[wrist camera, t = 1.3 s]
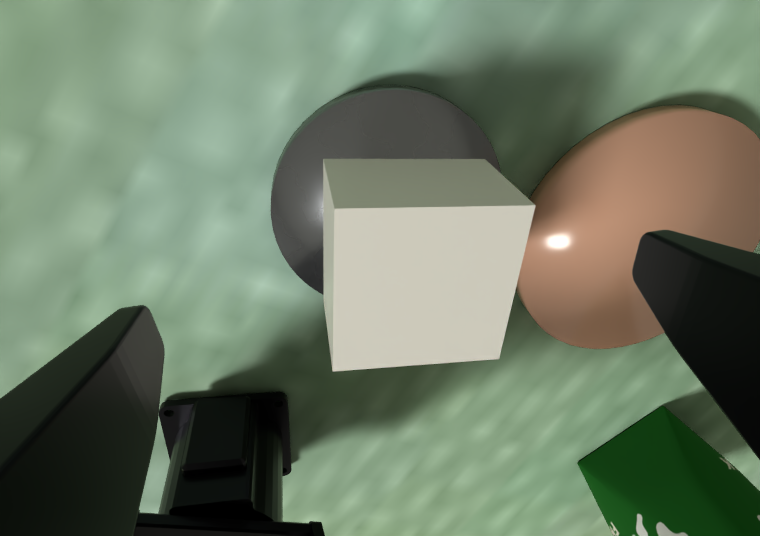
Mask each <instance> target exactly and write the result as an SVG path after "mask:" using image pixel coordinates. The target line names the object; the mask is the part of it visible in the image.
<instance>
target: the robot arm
mask: <svg viewBox="0 0 760 536" xmlns="http://www.w3.org/2000/svg"><path fill="white" fill-rule="evenodd" d="M632 276H633V280H634V282H635V284H636V286H637V287H638V289H639V291H640V292H641V294H642V296H643V297H644V299H645V301H646V302H647V304H648V306H649V307H650V309H651V310H652V312H653V314H654V315H655V317H656V319H657V320H658V322H659V324H660V325H661V327H662V329H663V330H664V332H665V334H666V335H667V337H668V338H669V340H670V341H671V343H672V344H673V346H674V347H675V349H676V350H677V352H678V353H679V354H680V356H681V357H682V358H683V360H684V361H685V362H686V364H687V365H688V366H689V368H690V369H691V370H692V371H693V373H694V374H695V375H696V377H697V378H698V379H699V381H700V382H701V383H702V385H703V386H704V387H705V389H706V390H707V391H708V393H709V394H710V395H711V397H712V398H713V399H714V400H715V402H716V403H717V404H718V406H719V407H720V408H721V410H722V411H723V412H724V414H725V415H726V416H727V418H728V419H729V420H730V422H731V423H732V424H733V425H734V427H735V428H736V429H737V431H738V432H739V433H740V435H741V436H742V437H743V439H744V440H745V441H746V443H747V444H748V445H749V447H750V448H751V449H752V451H753V452H754V453H755V454H756V456H757V457H758V458H759V460H760V254H757V253H753V252H749V251H746V250H742V249H738V248H735V247H731V246H727V245H723V244H720V243H716V242H712V241H709V240H705V239H701V238H697V237H694V236H690V235H686V234H682V233H679V232H675V231H671V230H658V231H651V232H646V233H645V234H643V236H642V237H641V238H640V241H639V245H638V249H637V253H636V257H635V260H634V264H633V268H632ZM163 364H164V344H163V341H162V338H161V336H160V333H159V331H158V329H157V326H156V324H155V321H154V319H153V316H152V314H151V312H150V310H149V309H148V308H147V307H146V306H144V305H139V306H132V307H125V308H121V309H119V310H117V311H116V312H114V313H113V314H112V315H110V316H109V317H108V318H106V319H105V320H104V321H103V322H101V323H100V324H99V325H97V326H96V327H95V328H93V329H92V330H91V331H89V332H88V333H87V334H85V335H84V336H83V337H81V338H80V339H79V340H77V341H76V342H75V343H73V344H72V345H71V346H69V347H68V348H67V349H65V350H64V351H63V352H61V353H60V354H59V355H58V356H56V357H55V358H54V359H52V360H51V361H50V362H48V363H47V364H46V365H44V366H43V367H42V368H40V369H39V370H38V371H36V372H35V373H34V374H32V375H31V376H30V377H28V378H27V379H26V380H24V381H23V382H22V383H20V384H19V385H18V386H16V387H15V388H14V389H12V390H11V391H10V392H9V393H7V394H6V395H5V396H3V397H2V398H1V399H0V536H325V535H324V531H323V527H322V523H321V522H313V521H310V522H309V523H297V522H282V476H285V475H288V474H289V473H290V472H291V450H290V432H289V413H288V397H287V395H286V394H285V393H283V392H269V393H256V394H244V395H231V396H219V397H207V398H194V399H182V400H170V401H165V402H163V403H162V404H161V406H160V409H159V403H160V393H161V384H162V374H163ZM276 401H280V402H276ZM168 410H172V411H168ZM158 413H159V417H160V421H161V426H162V430H163V434H164V438H165V442H166V446H167V450H168V454H169V458H170V465H169V469H168V474H167V478H166V482H165V487H164V491H163V495H162V500H161V504H160V508H159V513H158V514H155V513H140V510H139V506H140V502H141V498H142V493H143V489H144V485H145V480H146V476H147V472H148V467H149V463H150V459H151V454H152V450H153V446H154V441H155V436H156V429H157V422H158Z"/></svg>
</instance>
